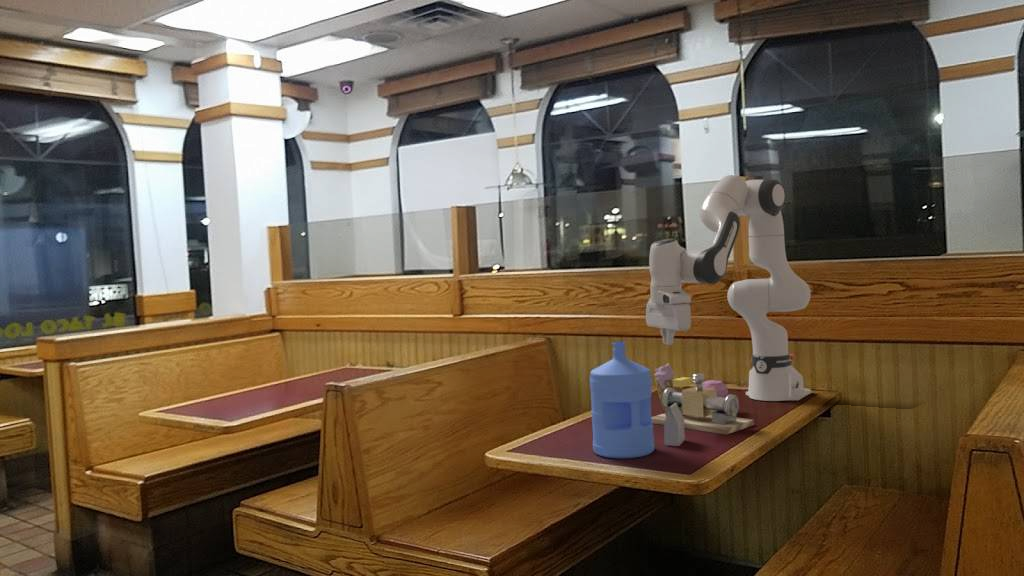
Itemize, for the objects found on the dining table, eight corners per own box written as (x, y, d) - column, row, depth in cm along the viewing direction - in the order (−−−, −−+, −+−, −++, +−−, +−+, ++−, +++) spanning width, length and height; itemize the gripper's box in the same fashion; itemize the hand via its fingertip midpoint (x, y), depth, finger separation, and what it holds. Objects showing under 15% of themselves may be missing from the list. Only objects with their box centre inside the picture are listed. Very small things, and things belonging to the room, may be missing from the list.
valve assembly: (677, 414, 254) (675, 375, 253) (753, 425, 235) (752, 382, 234) (649, 422, 244) (647, 382, 244) (726, 434, 225) (724, 390, 224)
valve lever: (697, 380, 241) (697, 373, 241) (706, 381, 239) (706, 374, 239) (672, 386, 233) (672, 379, 233) (681, 387, 230) (681, 380, 230)
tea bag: (684, 440, 222) (683, 402, 221) (678, 446, 215) (677, 408, 215) (671, 439, 223) (669, 402, 223) (664, 445, 217) (663, 407, 217)
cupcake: (722, 415, 249) (721, 382, 248) (695, 413, 253) (693, 381, 253) (732, 410, 256) (731, 377, 255) (705, 408, 261) (704, 376, 260)
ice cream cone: (675, 413, 256) (673, 364, 255) (654, 413, 257) (652, 365, 256) (675, 408, 262) (673, 361, 261) (655, 409, 263) (653, 362, 263)
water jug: (582, 449, 217) (577, 342, 215) (633, 441, 223) (629, 337, 222) (612, 462, 202) (607, 348, 201) (667, 453, 209) (662, 342, 207)
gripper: (639, 295, 246) (641, 341, 247) (673, 298, 227) (675, 348, 227) (658, 294, 248) (660, 340, 249) (694, 296, 229) (696, 346, 229)
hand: (668, 344), depth 238 cm, fingers closed
